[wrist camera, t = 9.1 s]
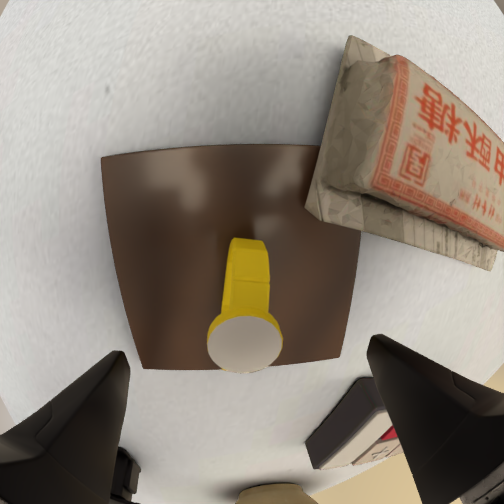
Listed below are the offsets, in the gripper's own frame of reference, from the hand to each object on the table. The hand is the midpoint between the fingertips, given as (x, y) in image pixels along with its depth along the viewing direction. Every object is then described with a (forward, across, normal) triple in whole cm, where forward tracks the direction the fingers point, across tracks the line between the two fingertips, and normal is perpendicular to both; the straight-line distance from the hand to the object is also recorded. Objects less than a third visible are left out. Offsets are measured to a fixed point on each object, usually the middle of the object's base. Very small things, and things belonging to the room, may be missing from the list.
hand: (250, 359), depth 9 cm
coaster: (+7, 0, 0) cm, 7 cm away
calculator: (+8, -15, +18) cm, 25 cm away
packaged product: (+7, -13, -6) cm, 16 cm away
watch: (+7, 0, 0) cm, 7 cm away
